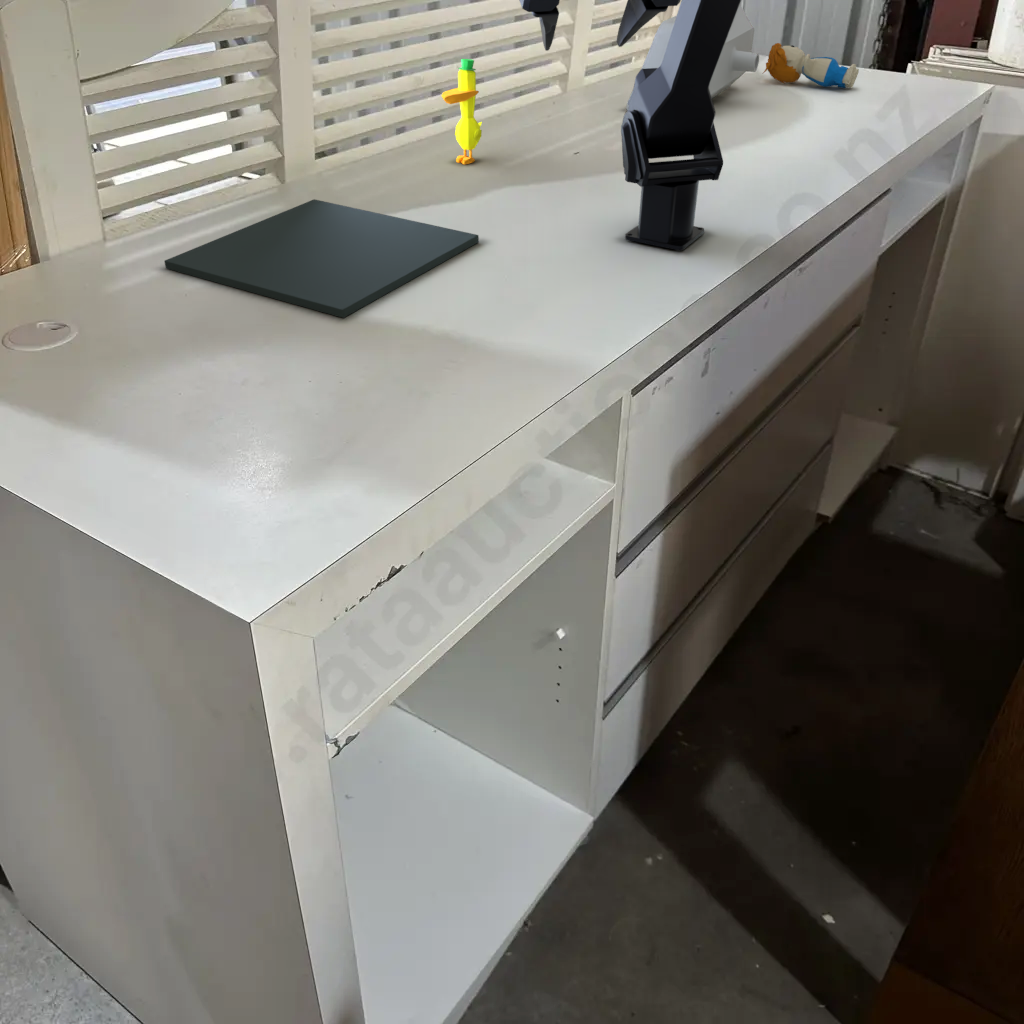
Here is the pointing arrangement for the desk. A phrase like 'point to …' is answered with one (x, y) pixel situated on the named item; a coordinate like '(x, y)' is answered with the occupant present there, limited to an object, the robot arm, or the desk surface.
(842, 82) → the toy
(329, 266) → the mat
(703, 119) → the robot arm
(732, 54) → the tank
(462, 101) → the toy figure
